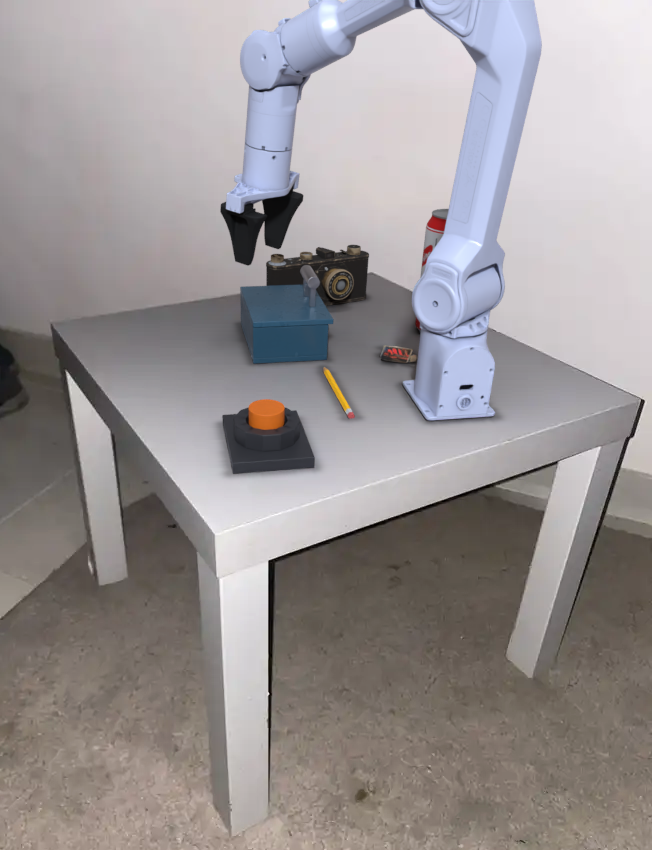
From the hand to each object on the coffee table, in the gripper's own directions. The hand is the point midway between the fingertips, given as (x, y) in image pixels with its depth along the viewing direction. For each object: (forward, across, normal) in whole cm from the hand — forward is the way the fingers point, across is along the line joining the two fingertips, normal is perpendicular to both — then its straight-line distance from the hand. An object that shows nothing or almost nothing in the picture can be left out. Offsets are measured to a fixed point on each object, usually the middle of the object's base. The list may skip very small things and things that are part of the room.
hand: (258, 254), depth 100 cm
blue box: (+10, +2, +6) cm, 12 cm away
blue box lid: (+5, +2, +5) cm, 8 cm away
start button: (+5, +27, +17) cm, 32 cm away
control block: (+8, +27, +18) cm, 33 cm away
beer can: (+8, -12, +22) cm, 27 cm away
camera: (+11, -13, +4) cm, 17 cm away
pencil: (+8, +12, +19) cm, 24 cm away
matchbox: (+8, -1, +21) cm, 23 cm away
